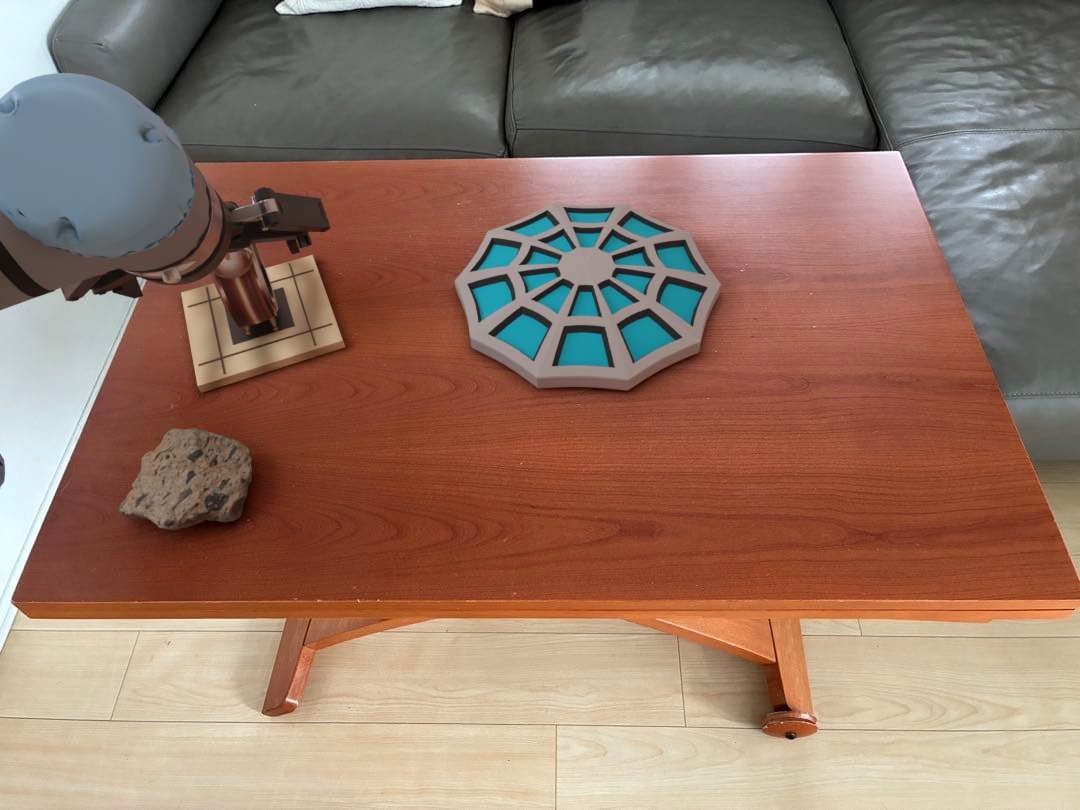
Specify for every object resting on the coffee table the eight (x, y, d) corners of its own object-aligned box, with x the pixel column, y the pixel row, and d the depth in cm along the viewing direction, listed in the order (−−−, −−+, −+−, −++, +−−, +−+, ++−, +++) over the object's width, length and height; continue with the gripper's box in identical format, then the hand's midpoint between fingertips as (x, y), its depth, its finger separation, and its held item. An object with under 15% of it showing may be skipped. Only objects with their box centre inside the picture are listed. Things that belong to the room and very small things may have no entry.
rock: (219, 554, 71) (201, 530, 67) (118, 524, 73) (96, 501, 70) (276, 463, 77) (262, 437, 74) (181, 438, 79) (164, 413, 76)
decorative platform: (439, 389, 82) (431, 358, 78) (471, 216, 100) (466, 184, 96) (730, 396, 80) (738, 364, 76) (709, 218, 98) (714, 185, 94)
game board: (201, 393, 83) (196, 385, 82) (184, 299, 92) (180, 291, 91) (345, 347, 86) (342, 339, 85) (315, 261, 96) (312, 253, 95)
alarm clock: (288, 339, 86) (242, 233, 74) (245, 353, 85) (191, 247, 73) (271, 279, 92) (226, 172, 80) (231, 291, 91) (179, 184, 79)
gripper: (-41, 339, 44) (80, 344, 65) (376, 223, 50) (366, 261, 70) (-94, 212, 43) (45, 257, 64) (338, 108, 49) (339, 181, 69)
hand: (213, 260), depth 67 cm, fingers open, 13 cm apart
